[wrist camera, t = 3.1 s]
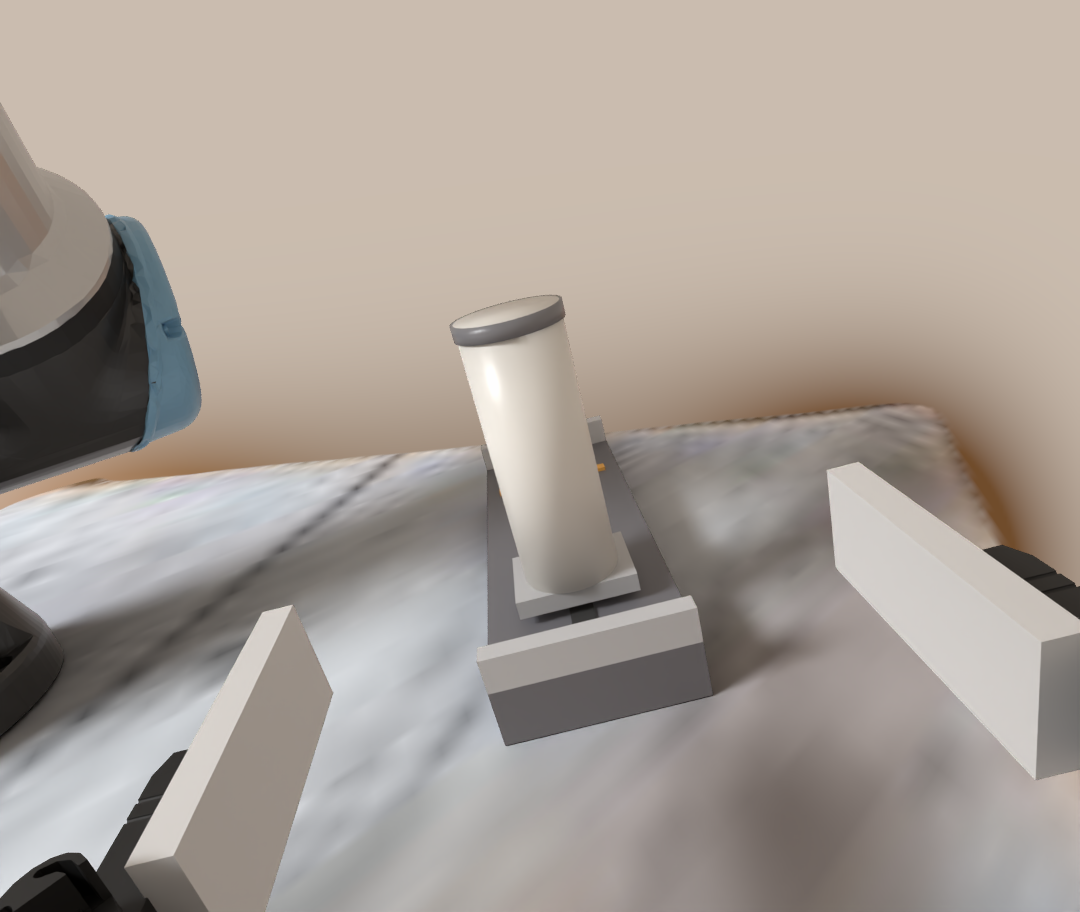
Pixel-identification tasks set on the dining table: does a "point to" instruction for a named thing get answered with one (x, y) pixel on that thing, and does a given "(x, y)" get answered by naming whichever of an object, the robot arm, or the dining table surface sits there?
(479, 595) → the dining table surface
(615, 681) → the fader console
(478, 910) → the dining table surface
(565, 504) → the fader knob
